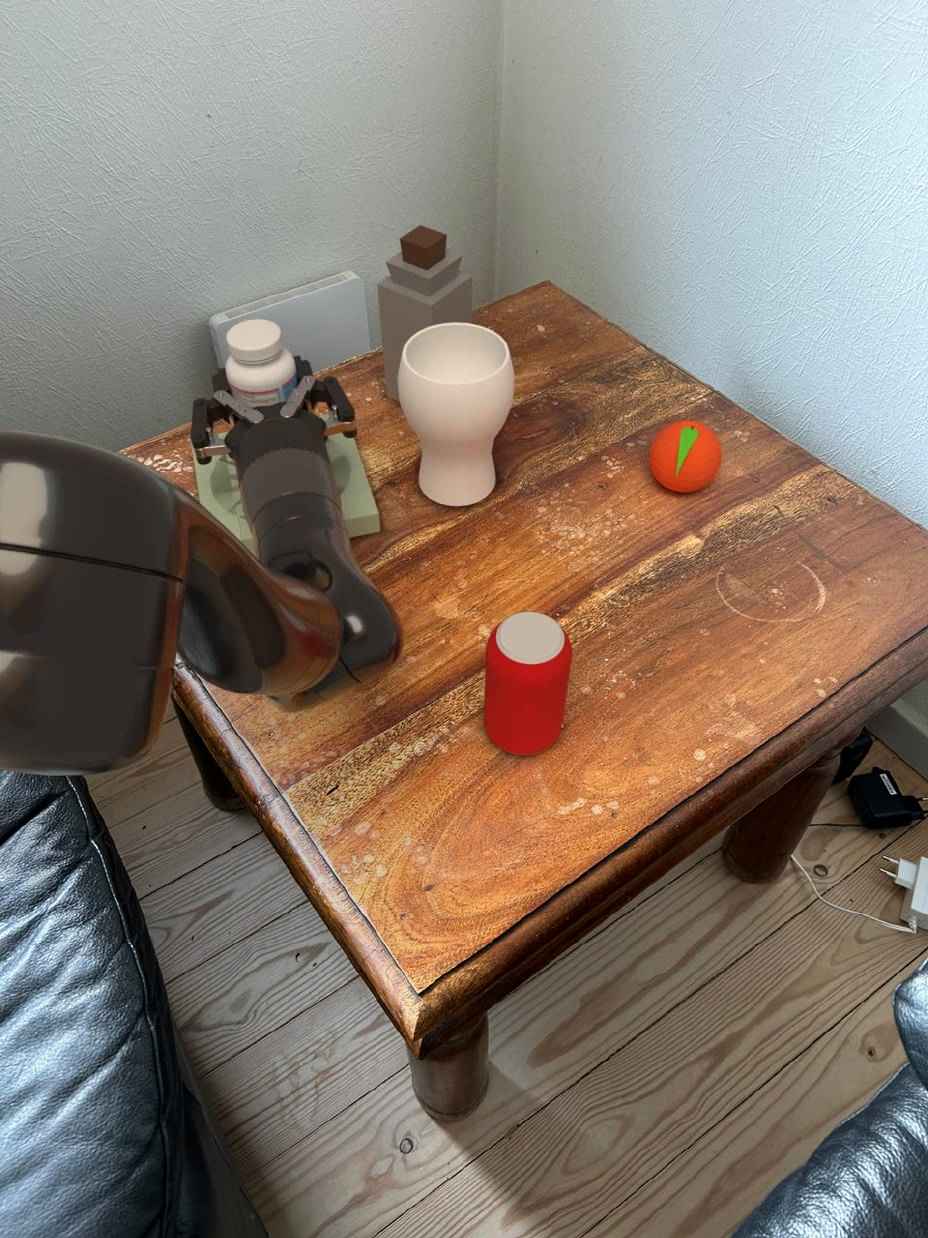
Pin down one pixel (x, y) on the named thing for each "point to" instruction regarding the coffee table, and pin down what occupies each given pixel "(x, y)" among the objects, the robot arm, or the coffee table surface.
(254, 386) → the pill bottle
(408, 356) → the cup
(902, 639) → the coffee table surface
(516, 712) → the beverage can
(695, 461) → the clementine
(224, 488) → the hole plate
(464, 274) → the perfume bottle
